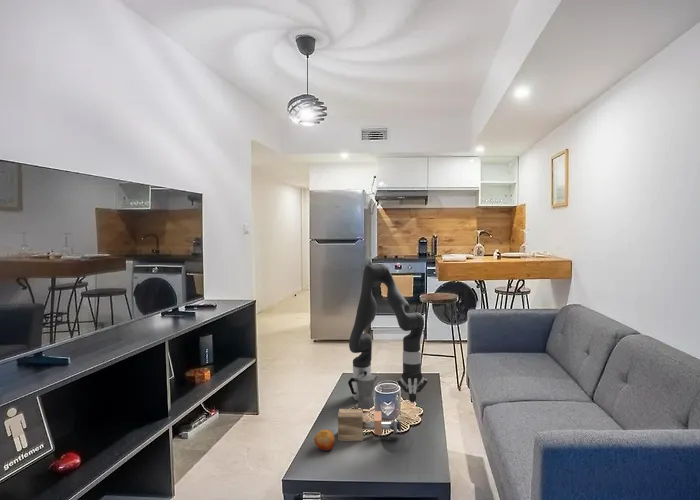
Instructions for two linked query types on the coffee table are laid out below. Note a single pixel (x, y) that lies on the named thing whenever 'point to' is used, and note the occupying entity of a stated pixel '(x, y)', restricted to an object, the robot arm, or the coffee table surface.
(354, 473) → the coffee table surface
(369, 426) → the shaft
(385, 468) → the coffee table surface
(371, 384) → the coffeepot
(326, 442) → the fruit
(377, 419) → the block
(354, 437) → the wooden block
